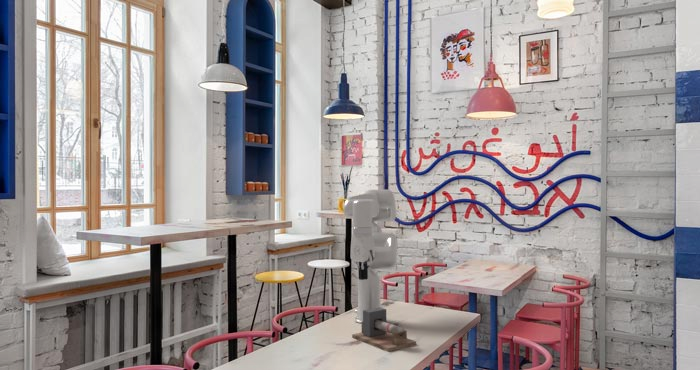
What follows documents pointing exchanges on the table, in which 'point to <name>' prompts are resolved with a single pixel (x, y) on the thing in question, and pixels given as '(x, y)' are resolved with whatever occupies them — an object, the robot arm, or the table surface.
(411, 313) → the table surface
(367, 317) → the collar
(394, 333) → the pipe rig
